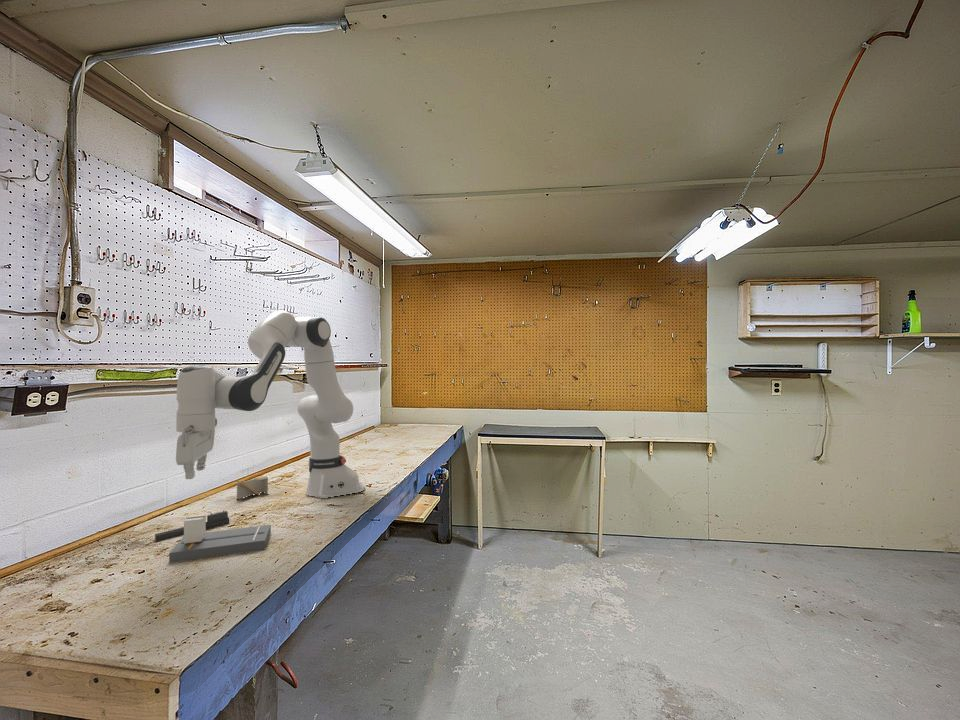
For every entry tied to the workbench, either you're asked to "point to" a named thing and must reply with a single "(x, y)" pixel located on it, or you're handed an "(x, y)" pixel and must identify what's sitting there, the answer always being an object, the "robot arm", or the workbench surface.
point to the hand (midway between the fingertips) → (195, 474)
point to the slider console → (222, 543)
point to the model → (252, 487)
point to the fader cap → (194, 528)
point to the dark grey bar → (211, 522)
